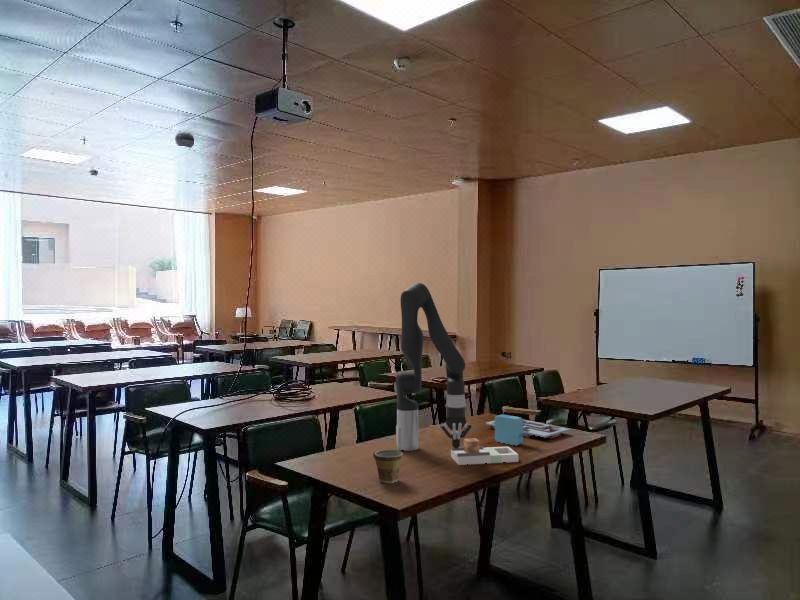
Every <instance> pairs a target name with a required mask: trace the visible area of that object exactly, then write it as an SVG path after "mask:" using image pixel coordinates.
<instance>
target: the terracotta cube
mask: <svg viewBox="0 0 800 600" xmlns="http://www.w3.org/2000/svg"><path fill="white" fill-rule="evenodd" d="M479 446H480V440H479V439H477V438H476V437H474V438H473V437H472V438H471V437H470V438H463V447H464V452H465V453H476V452H479Z"/></svg>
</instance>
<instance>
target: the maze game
mask: <svg viewBox="0 0 800 600" xmlns="http://www.w3.org/2000/svg"><path fill="white" fill-rule="evenodd" d="M522 420H523V436H525V437H524V438H527V437H529V438H531V437H530V436H532V437H533V435H535V437H538V436H540V437H539V438H542V437H544V438H543V439H547V438H552V439H555V438H554V437H556V438H558V436H559V437H562V433H563V434H564V433H566V432H569V431H570V430H571V429H570V428H567V427H561V426H557V425H552V424H548V423H547V424H546V423H542V422H537V421H531V420H527V419H524V418H522ZM485 425H487V426H489V427H490V428H491V429H490V430H494V429H495V420H492V421H491V420H490V421H487V422H485Z"/></svg>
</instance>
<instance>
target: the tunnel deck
mask: <svg viewBox="0 0 800 600" xmlns="http://www.w3.org/2000/svg"><path fill="white" fill-rule="evenodd" d="M450 457H451V458H452V459H453V461H455V463H456V464H457V465H458V466H465V465H467V464H468V465H486V464H485V463H487V464H503V462H506V463H519V454H518V453H517V452H516V451H514V449H512V448H511V447H510V446H508V445H507V446H491V447H487V446H486V447H484V446H483V445H479V452H476V453H465V452H464V446H460V447H458V449H454V447H453V446H452V447H451V448H450Z"/></svg>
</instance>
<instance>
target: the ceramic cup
mask: <svg viewBox="0 0 800 600" xmlns="http://www.w3.org/2000/svg"><path fill="white" fill-rule="evenodd" d="M372 455H373V459H374V460H375V465H376V468H377V469H376V470H377V474H378V475H377V476H378V479H379V482H380V481H381V482H383V483H382V484H384V483H393V484H395V483H394V482H396V483H398V481H399V474H400V468H401V467H400V466H401V464H402V460H403V459H402V458H403V452H402V451H401V450H398V449H381V450H378V451H377V450H376V451H373V454H372ZM381 482H380V483H381Z"/></svg>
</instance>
